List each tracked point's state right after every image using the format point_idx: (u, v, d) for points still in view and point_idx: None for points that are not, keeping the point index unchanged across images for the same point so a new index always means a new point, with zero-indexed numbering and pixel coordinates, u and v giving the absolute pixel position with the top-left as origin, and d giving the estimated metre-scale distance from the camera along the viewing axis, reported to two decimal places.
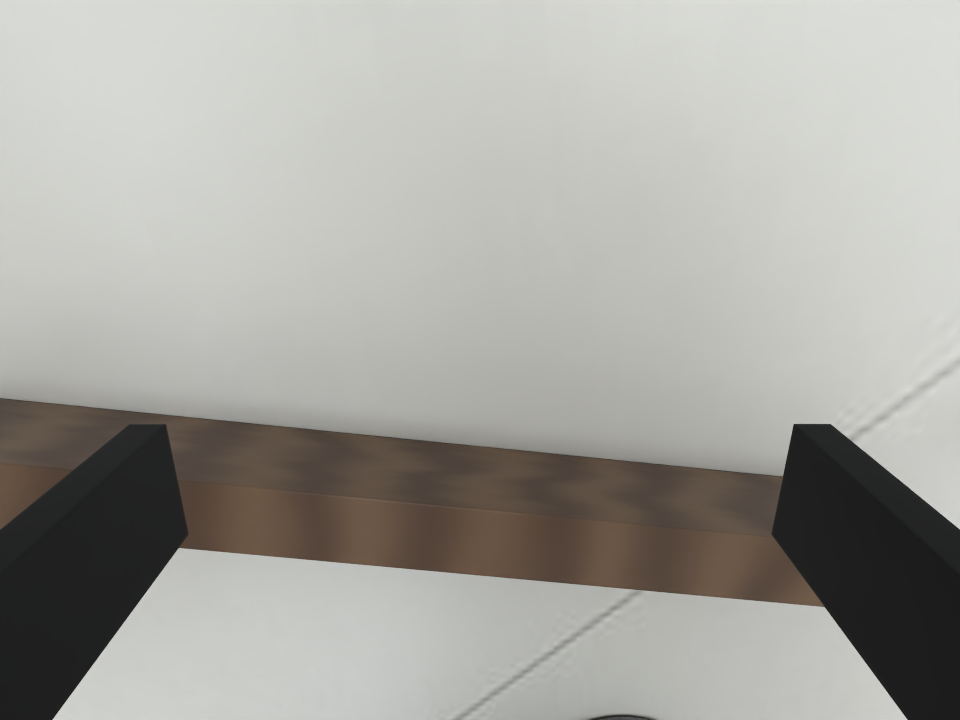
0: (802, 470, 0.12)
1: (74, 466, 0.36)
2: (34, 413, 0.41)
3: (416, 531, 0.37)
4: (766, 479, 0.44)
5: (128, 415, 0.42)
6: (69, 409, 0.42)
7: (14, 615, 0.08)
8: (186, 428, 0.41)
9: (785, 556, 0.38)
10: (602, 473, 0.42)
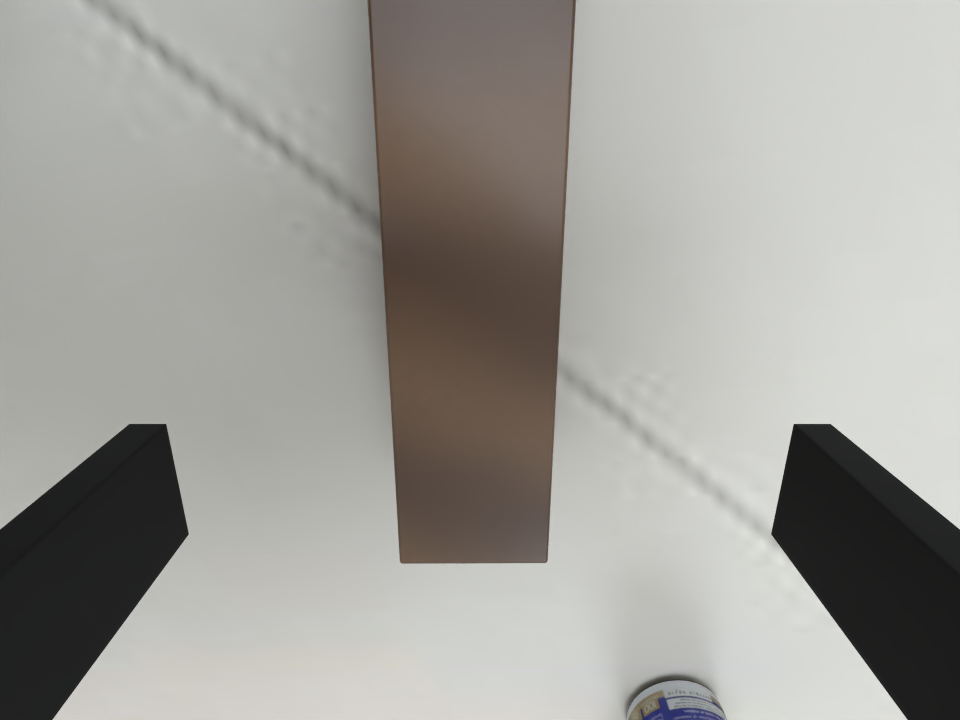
0: (802, 470, 0.12)
1: None
2: None
3: None
4: None
5: None
6: None
7: (14, 615, 0.08)
8: None
9: (514, 288, 0.17)
10: None
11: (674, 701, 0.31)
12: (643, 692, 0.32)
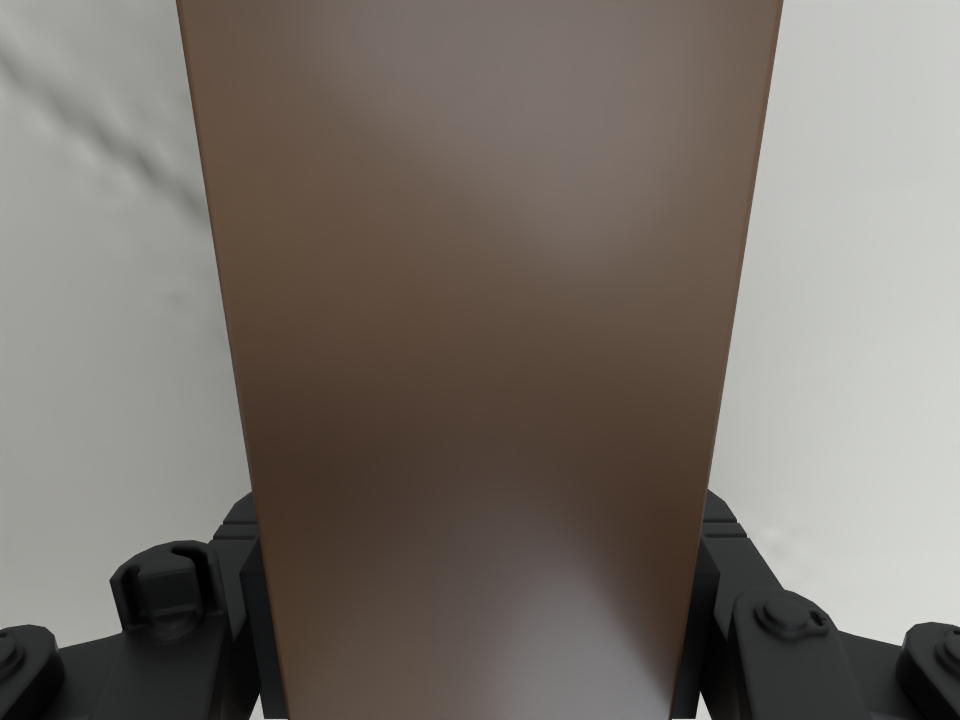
0: None
1: None
2: None
3: None
4: None
5: None
6: None
7: None
8: None
9: (585, 532, 0.07)
10: None
11: None
12: None
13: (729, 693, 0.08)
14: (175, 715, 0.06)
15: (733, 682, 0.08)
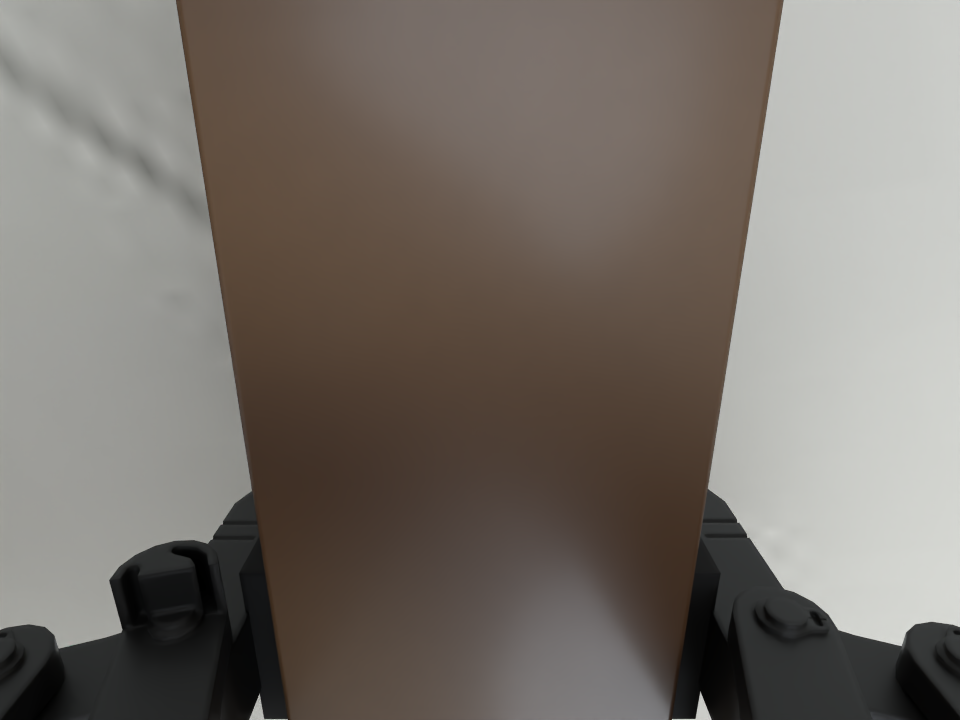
0: None
1: None
2: None
3: None
4: None
5: None
6: None
7: None
8: None
9: (585, 532, 0.07)
10: None
11: None
12: None
13: (729, 693, 0.08)
14: (175, 715, 0.06)
15: (733, 682, 0.08)
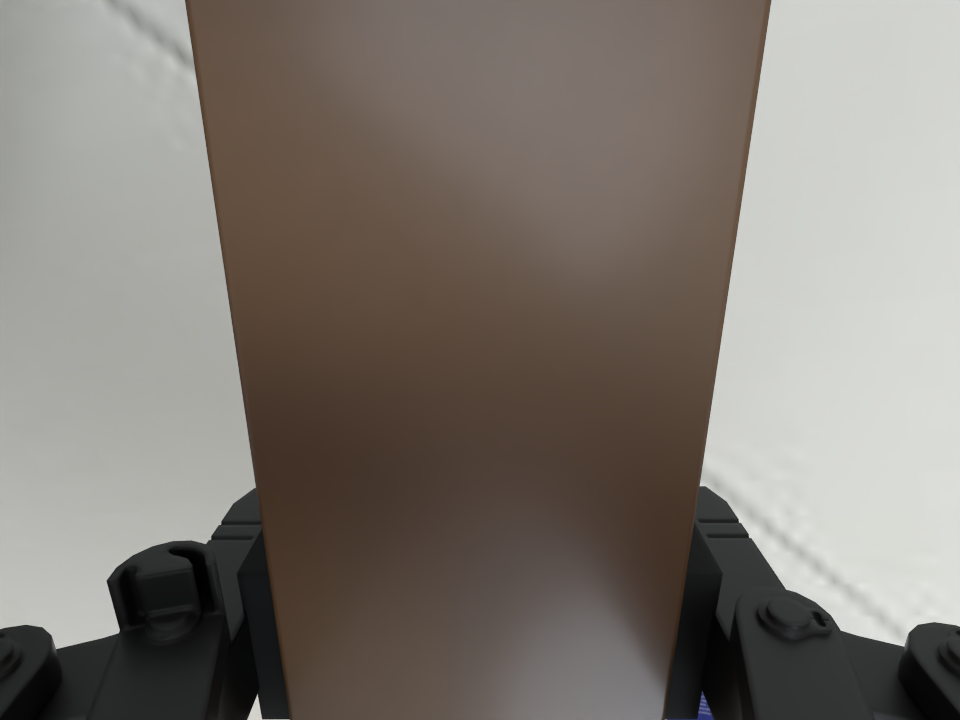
0: None
1: None
2: None
3: None
4: None
5: None
6: None
7: None
8: None
9: (580, 523, 0.07)
10: None
11: None
12: None
13: (731, 693, 0.08)
14: (172, 715, 0.06)
15: (735, 682, 0.08)
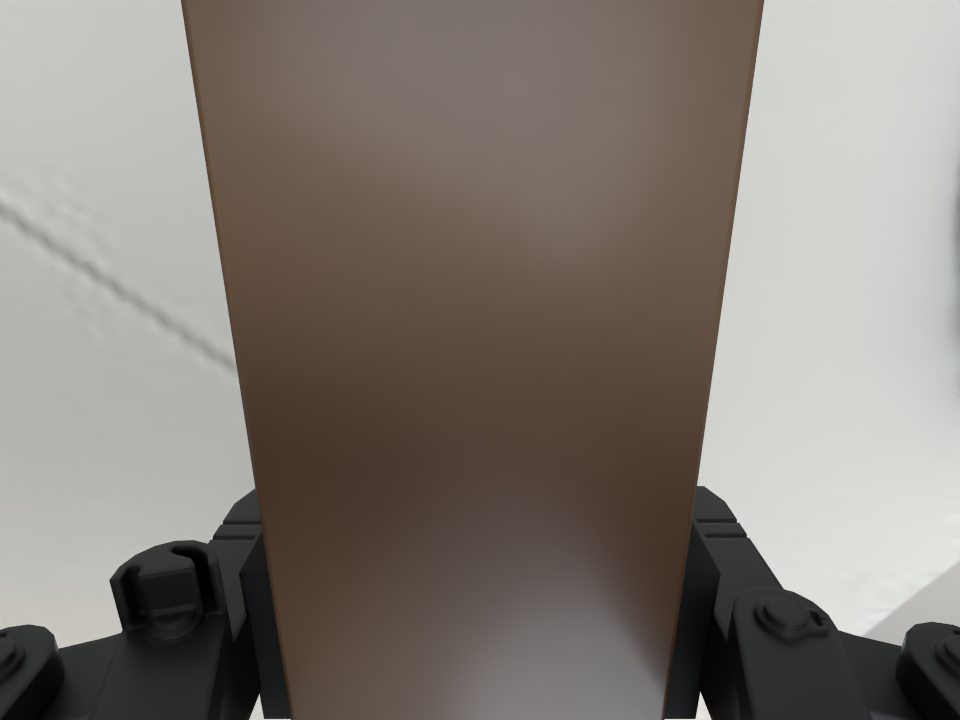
0: None
1: None
2: None
3: None
4: None
5: None
6: None
7: None
8: None
9: (579, 521, 0.07)
10: None
11: None
12: None
13: (729, 693, 0.08)
14: (175, 715, 0.06)
15: (733, 682, 0.08)
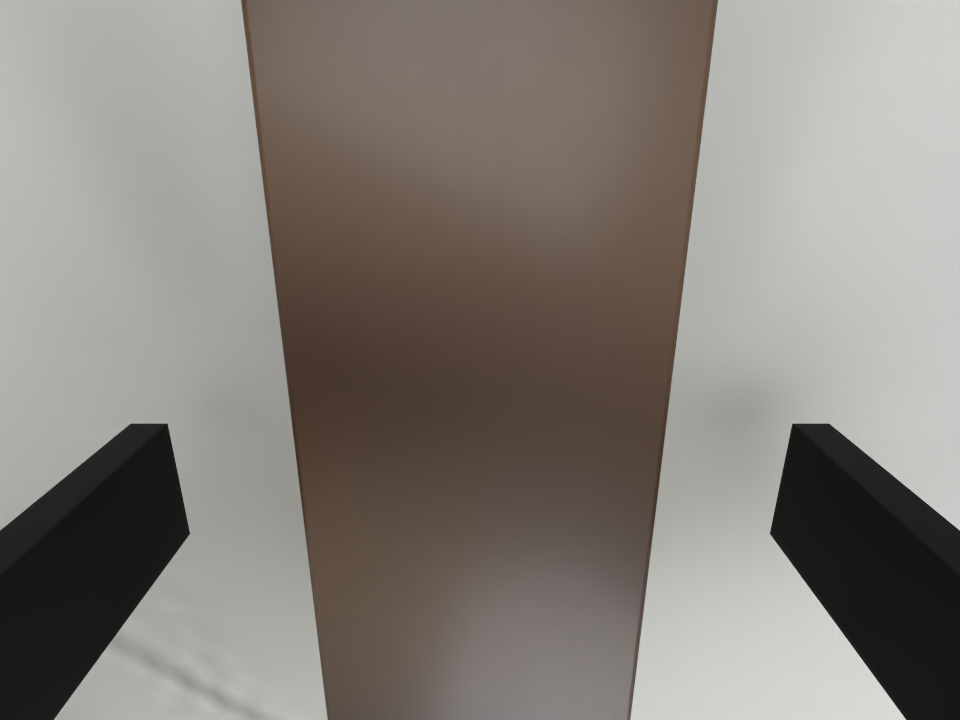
0: (801, 469, 0.12)
1: None
2: None
3: None
4: None
5: None
6: None
7: (17, 614, 0.08)
8: None
9: (567, 432, 0.08)
10: None
11: None
12: None
13: None
14: None
15: None
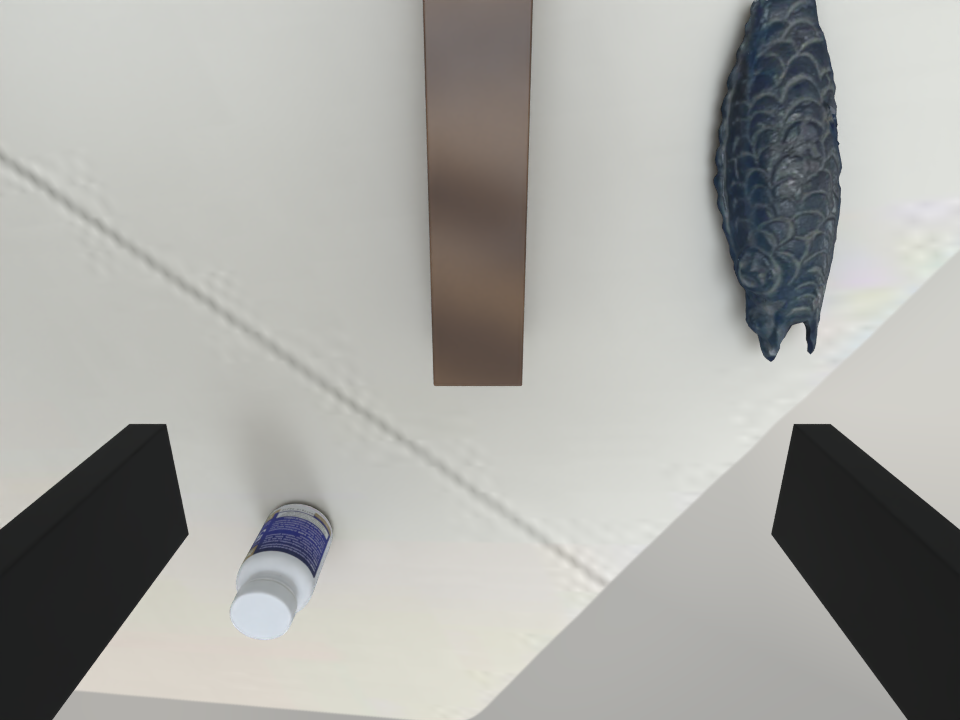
0: (802, 470, 0.12)
1: None
2: None
3: None
4: None
5: None
6: None
7: (14, 615, 0.08)
8: None
9: (501, 213, 0.30)
10: None
11: (282, 513, 0.44)
12: (271, 513, 0.45)
13: None
14: None
15: None
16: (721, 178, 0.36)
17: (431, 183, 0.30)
